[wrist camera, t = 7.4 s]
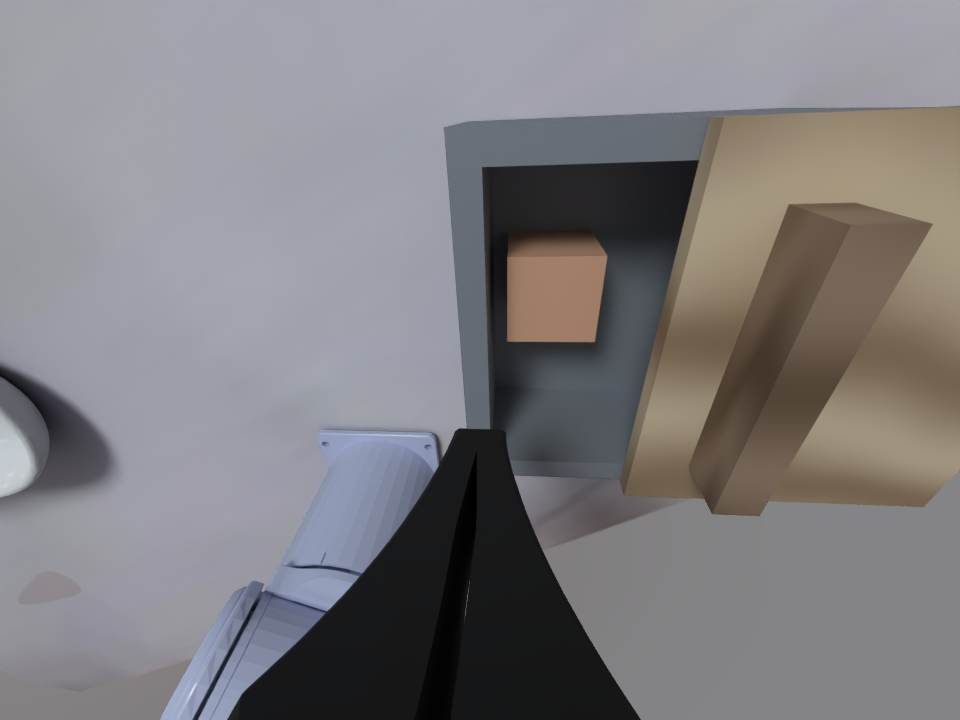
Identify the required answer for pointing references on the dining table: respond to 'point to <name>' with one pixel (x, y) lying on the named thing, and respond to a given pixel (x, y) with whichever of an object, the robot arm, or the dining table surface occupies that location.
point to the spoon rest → (20, 440)
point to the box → (567, 274)
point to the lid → (810, 317)
